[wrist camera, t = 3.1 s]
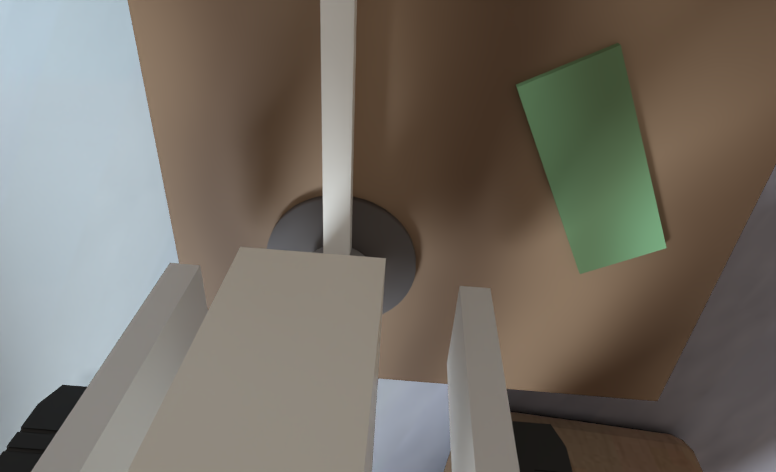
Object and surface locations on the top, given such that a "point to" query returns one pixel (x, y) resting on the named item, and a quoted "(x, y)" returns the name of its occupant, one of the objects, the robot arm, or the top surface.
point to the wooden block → (615, 447)
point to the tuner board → (482, 164)
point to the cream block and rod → (287, 330)
